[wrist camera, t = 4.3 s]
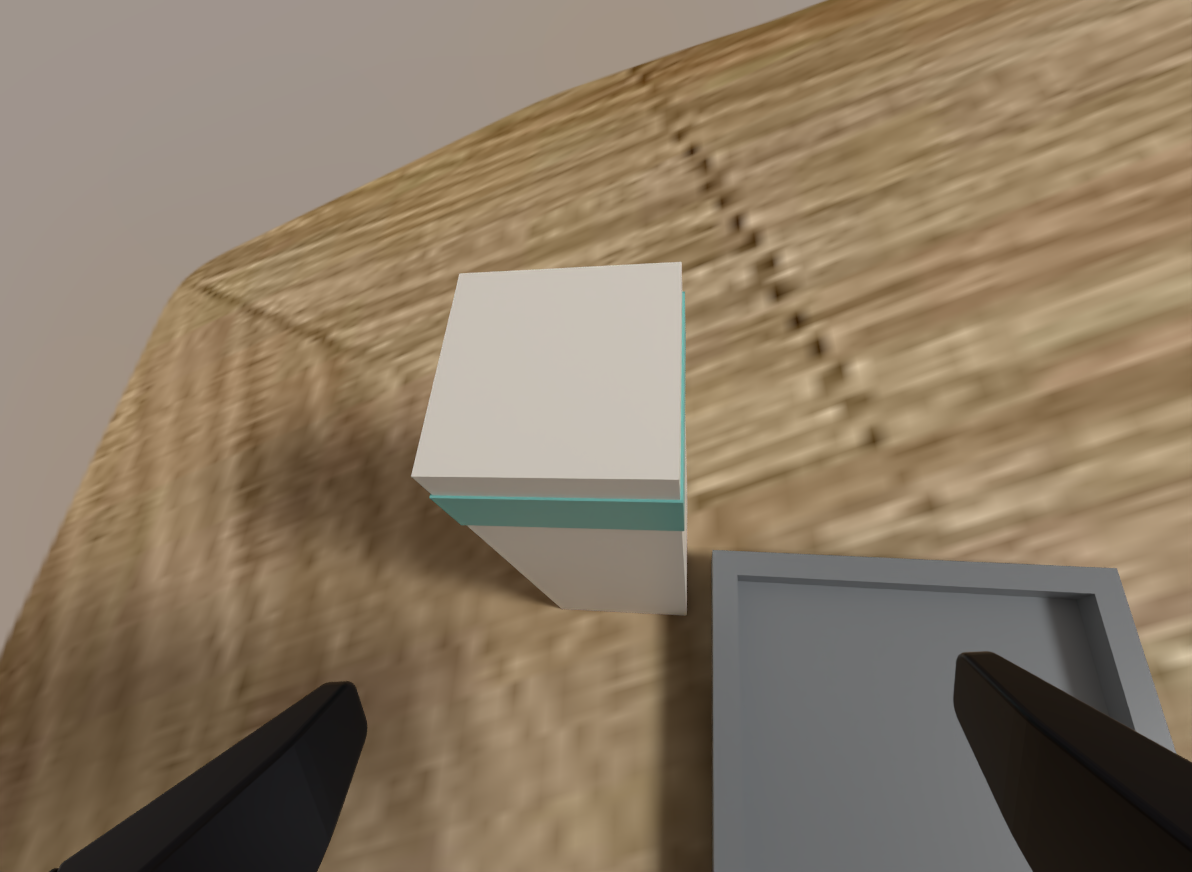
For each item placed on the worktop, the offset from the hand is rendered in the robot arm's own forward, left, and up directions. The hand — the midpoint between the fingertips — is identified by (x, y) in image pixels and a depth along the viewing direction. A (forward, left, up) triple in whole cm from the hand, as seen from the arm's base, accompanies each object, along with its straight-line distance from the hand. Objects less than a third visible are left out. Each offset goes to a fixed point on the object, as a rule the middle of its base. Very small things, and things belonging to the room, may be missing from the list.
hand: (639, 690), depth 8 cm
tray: (-1, -7, -11) cm, 14 cm away
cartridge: (+5, +2, -11) cm, 13 cm away
